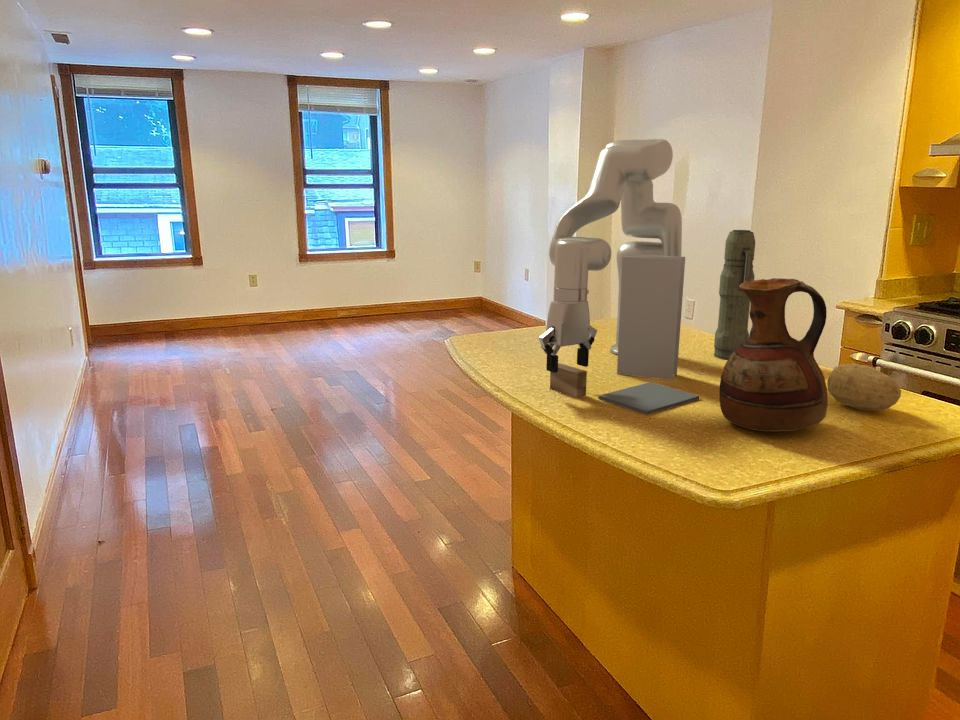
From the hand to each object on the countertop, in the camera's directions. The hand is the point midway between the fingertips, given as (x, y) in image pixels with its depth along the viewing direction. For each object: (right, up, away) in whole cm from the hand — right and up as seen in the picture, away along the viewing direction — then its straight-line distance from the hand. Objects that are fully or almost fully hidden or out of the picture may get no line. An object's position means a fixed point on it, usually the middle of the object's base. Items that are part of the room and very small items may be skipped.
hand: (567, 368), depth 160 cm
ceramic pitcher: (+38, -11, -20) cm, 45 cm away
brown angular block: (0, -6, +2) cm, 6 cm away
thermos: (+50, +3, +34) cm, 61 cm away
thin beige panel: (+23, -2, +17) cm, 28 cm away
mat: (+18, -7, -3) cm, 20 cm away
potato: (+62, -9, -10) cm, 64 cm away
